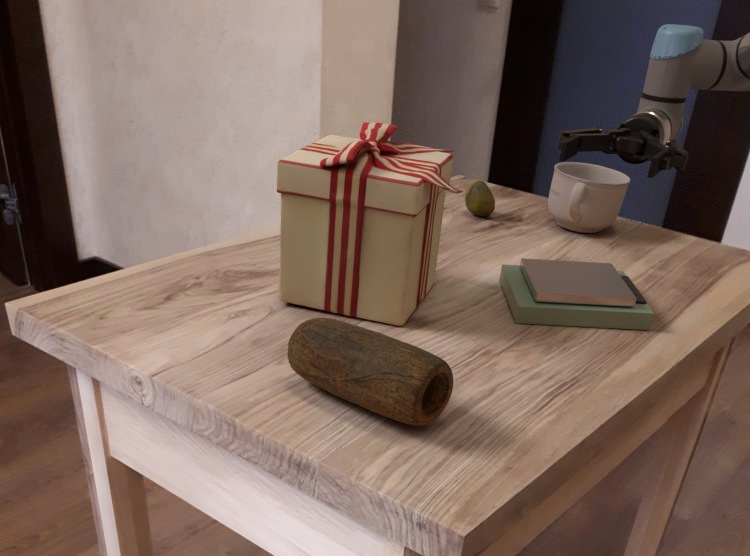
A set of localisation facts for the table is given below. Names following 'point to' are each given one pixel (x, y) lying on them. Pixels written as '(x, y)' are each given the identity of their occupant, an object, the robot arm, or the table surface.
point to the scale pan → (576, 282)
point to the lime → (480, 199)
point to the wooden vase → (371, 370)
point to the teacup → (586, 196)
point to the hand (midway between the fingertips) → (606, 159)
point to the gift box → (362, 223)
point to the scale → (571, 307)
